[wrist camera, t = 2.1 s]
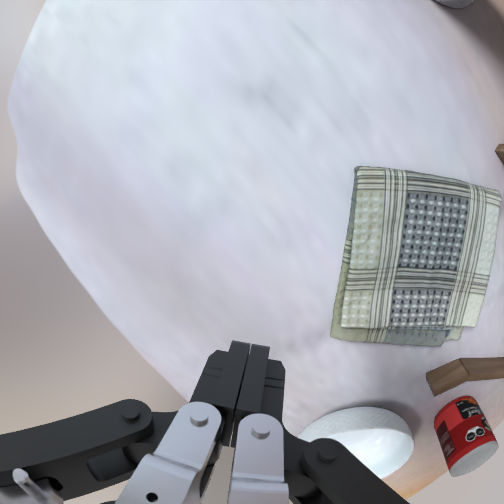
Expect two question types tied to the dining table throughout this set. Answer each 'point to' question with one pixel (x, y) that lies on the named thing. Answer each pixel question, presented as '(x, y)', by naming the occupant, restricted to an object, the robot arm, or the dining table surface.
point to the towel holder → (466, 360)
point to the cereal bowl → (367, 436)
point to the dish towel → (414, 257)
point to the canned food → (464, 435)
